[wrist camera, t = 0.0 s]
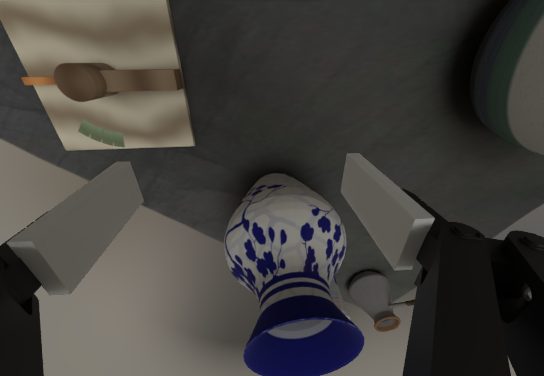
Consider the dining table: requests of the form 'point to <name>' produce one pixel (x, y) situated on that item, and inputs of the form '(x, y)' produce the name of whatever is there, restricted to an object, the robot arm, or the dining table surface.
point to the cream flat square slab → (110, 50)
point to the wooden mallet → (106, 80)
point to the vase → (291, 278)
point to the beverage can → (338, 297)
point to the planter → (512, 75)
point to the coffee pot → (376, 299)
